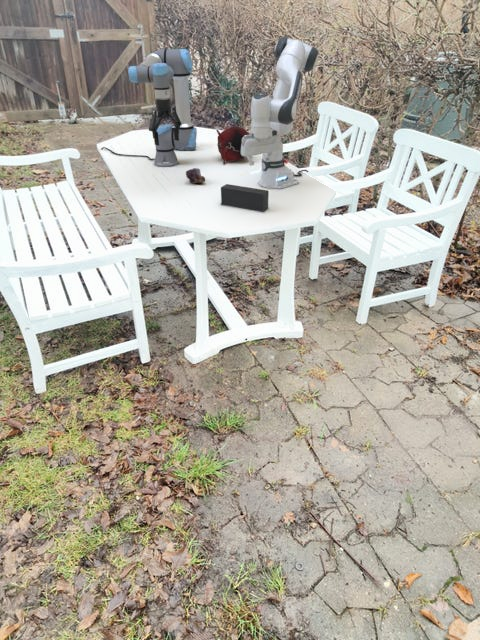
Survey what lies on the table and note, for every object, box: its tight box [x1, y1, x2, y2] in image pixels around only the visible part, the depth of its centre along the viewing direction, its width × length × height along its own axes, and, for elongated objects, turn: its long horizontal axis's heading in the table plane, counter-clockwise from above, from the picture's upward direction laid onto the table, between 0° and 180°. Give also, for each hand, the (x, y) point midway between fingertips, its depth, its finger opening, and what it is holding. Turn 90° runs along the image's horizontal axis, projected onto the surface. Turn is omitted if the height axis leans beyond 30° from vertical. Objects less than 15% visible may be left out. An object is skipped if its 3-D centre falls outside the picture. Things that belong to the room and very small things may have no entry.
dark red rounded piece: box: [216, 126, 250, 165], centre depth 296 cm, size 21×24×25 cm
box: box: [220, 183, 270, 213], centre depth 226 cm, size 24×6×9 cm, turn 63°
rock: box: [185, 167, 206, 184], centre depth 259 cm, size 12×9×10 cm
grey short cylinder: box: [174, 142, 197, 151], centre depth 321 cm, size 17×18×20 cm
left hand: (167, 142), depth 238 cm, fingers open, 13 cm apart
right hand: (259, 163), depth 213 cm, fingers open, 8 cm apart
